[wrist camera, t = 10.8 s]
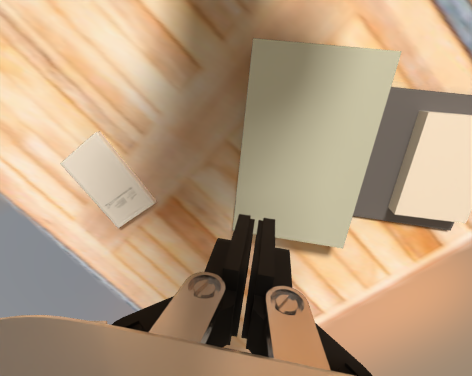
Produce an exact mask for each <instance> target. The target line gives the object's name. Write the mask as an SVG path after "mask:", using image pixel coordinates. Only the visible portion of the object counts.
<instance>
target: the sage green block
mask: <svg viewBox="0 0 472 376" xmlns="http://www.w3.org/2000/svg"><path fill="white" fill-rule="evenodd" d="M401 52H402V51H392V50H380V49H369V48H358V47H347V46H335V45H324V44H313V43H301V42H290V41H279V40H267V39H256V38H253V44H252V53H251V63H250V72H249V81H248V91H247V100H246V109H245V118H244V128H243V137H242V146H241V156H240V165H239V174H238V184H237V193H236V202H235V212H234V221H233V231H234V230H235V226H236V223H237V220H238V216H239V214H244V215H250V216H251V219H255V222H254V229H253V234H257V227H258V221H259V220H262V221H263V218H269V219H275V237H276V238H282V239H288V240H294V241H300V242H306V243H312V244H319V245H325V246H331V247H337V248H343V247H344V243H345V240H346V237H347V233H348V230H349V226H350V223H351V220H352V216H353V213H354V210H355V206H356V203H357V200H358V196H359V193H360V189H361V186H362V183H363V179H364V176H365V173H366V169H367V166H368V163H369V159H370V156H371V152H372V149H373V146H374V142H375V139H376V136H377V132H378V129H379V126H380V122H381V119H382V115H383V112H384V109H385V105H386V102H387V99H388V95H389V92H390V89H391V85H392V82H393V78H394V75H395V72H396V68H397V65H398V62H399V58H400V55H401Z"/></svg>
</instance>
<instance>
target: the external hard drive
mask: <svg viewBox="0 0 472 376" xmlns="http://www.w3.org/2000/svg"><path fill="white" fill-rule="evenodd" d="M60 164H61V165H62V166H63V167H64V168H65V170H66V171H67V172H68V173H69V174H70V175H71V176H72V177H73V178H74V180H75V181H76V182H77V183H78V184H79V185H80V186H81V187H82V189H83V190H84V191H85V192H86V193H87V194H88V195H89V196H90V198H91V199H92V200H93V201H94V202H95V203H96V204H97V205H98V207H99V208H100V209H101V210H102V211H103V212H104V213H105V214H106V215H107V217H108V218H109V219H110V220H111V221H112V222H113V223H114V224H115V226H116V227H117V228H120V227H121V226H122V225H124V224H125V223H127V222H128V221H130V220H131V219H133V218H134V217H136V216H137V215H139V214H140V213H142V212H143V211H145V210H146V209H148V208H149V207H151V206H152V205H154V204H155V203H156V202H157V201H156V199H155V198H154V197H153V196H152V194H151V193H150V192H149V191H148V189H147V188H146V187H145V186H144V185H143V183H142V182H141V181H140V180H139V178H138V177H137V176H136V175H135V173H134V172H133V171H132V170H131V169H130V167H129V166H128V165H127V164H126V162H125V161H124V160H123V159H122V157H121V156H120V155H119V154H118V152H117V151H116V150H115V149H114V148H113V146H112V145H111V144H110V143H109V141H108V140H107V139H106V138H105V137H104V135H103V134H102V133H101V132H100V131H99V132H96V133H94V134H93V135H92V136H91V137H90V138H89V139H87V140H86V141H85V142H84V143H83V144H82V145H81V146H79V147H78V148H77V149H76V150H75V151H74V152H73V153H71V154H70V155H69V156H68V157H67V158H66V159H65V160H63V161H62V162H61V163H60Z"/></svg>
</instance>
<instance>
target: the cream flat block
mask: <svg viewBox="0 0 472 376" xmlns="http://www.w3.org/2000/svg"><path fill="white" fill-rule="evenodd" d="M388 208H389V209H390V210H391V211H392V212H393V213H394V214H396V215H403V216H411V217H419V218H427V219H435V220H443V221H451V222H459V223H466V222H467V220H468V217H469V215H470V213H471V211H472V115H465V114H454V113H442V112H430V111H419V113H418V116H417V119H416V122H415V125H414V128H413V131H412V135H411V138H410V141H409V144H408V147H407V150H406V153H405V156H404V159H403V163H402V166H401V169H400V172H399V175H398V178H397V181H396V184H395V187H394V191H393V194H392V197H391V200H390V203H389V206H388Z"/></svg>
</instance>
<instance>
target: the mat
mask: <svg viewBox="0 0 472 376" xmlns="http://www.w3.org/2000/svg"><path fill="white" fill-rule="evenodd" d="M419 111H430V112H442V113H454V114H465V115H472V95H465V94H455V93H445V92H435V91H425V90H416V89H406V88H396V87H391V89H390V92H389V95H388V99H387V102H386V105H385V109H384V112H383V115H382V119H381V122H380V126H379V129H378V132H377V136H376V139H375V142H374V146H373V149H372V152H371V156H370V159H369V163H368V166H367V169H366V173H365V176H364V179H363V183H362V186H361V189H360V193H359V196H358V200H357V203H356V206H355V210H354V213H353V216H358V217H364V218H371V219H378V220H384V221H391V222H398V223H404V224H411V225H418V226H424V227H431V228H438V229H444V230H451V228H452V226H453V224H454V222H451V221H443V220H435V219H427V218H419V217H411V216H403V215H396V214H394V213H393V212H392V211H391V210H390V209H389V208H388V206H389V203H390V200H391V197H392V194H393V191H394V187H395V184H396V181H397V178H398V175H399V172H400V169H401V166H402V163H403V159H404V156H405V153H406V150H407V147H408V144H409V141H410V138H411V135H412V131H413V128H414V125H415V122H416V119H417V116H418V113H419Z"/></svg>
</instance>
